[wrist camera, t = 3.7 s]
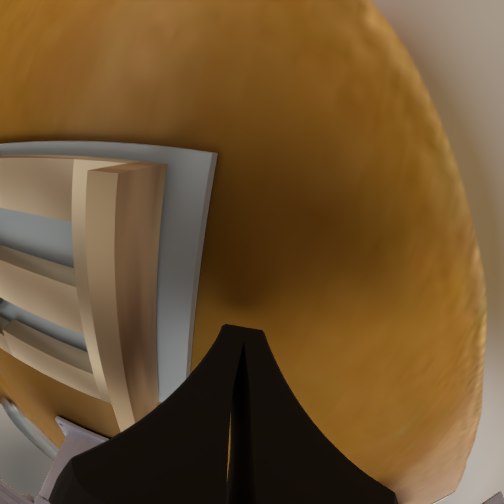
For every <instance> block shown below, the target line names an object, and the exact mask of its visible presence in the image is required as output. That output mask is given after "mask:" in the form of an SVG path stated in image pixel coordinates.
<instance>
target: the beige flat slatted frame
mask: <svg viewBox="0 0 504 504" xmlns="http://www.w3.org/2000/svg"><path fill="white" fill-rule="evenodd" d="M167 165H168V164H166V163H157V162H148V161H139V160H129V159H118V158H105V157H90V156H71V155H0V208H5V209H10V210H15V211H19V212H24V213H29V214H34V215H39V216H44V217H49V218H54V219H60V220H65V221H70V222H72V245H73V260H74V268H72V267H68V266H65V265H62V264H58V263H55V262H52V261H48V260H45V259H42V258H39V257H36V256H33V255H30V254H26V253H23V252H20V251H17V250H14V249H12V248H9V247H6V246H3V245H0V297H1V298H2V299H4V300H6V301H8V302H10V303H12V304H14V305H16V306H18V307H20V308H22V309H24V310H26V311H28V312H30V313H33V314H35V315H37V316H39V317H41V318H44V319H46V320H48V321H50V322H53V323H55V324H58V325H60V326H62V327H65V328H67V329H70V330H72V331H75V332H78V333H80V334H83V335H84V337H85V342H86V346H87V351H88V352H86V351H83V350H81V349H78V348H76V347H73V346H71V345H68V344H66V343H63V342H61V341H59V340H57V339H54V338H52V337H50V336H48V335H46V334H43V333H41V332H39V331H37V330H35V329H33V328H31V327H29V326H27V325H25V324H23V323H21V322H19V321H17V320H16V319H13V320H11V321H10V322H9V321H7V320H6V319H4V318H2V317H0V348H1V349H3V350H5V351H6V352H8V353H9V354H11V355H12V356H14V357H16V358H17V359H19V360H20V361H22V362H24V363H25V364H27V365H29V366H31V367H32V368H34V369H36V370H38V371H40V372H42V373H43V374H45V375H47V376H49V377H51V378H53V379H55V380H57V381H59V382H61V383H63V384H65V385H67V386H70V387H72V388H74V389H76V390H78V391H81V392H83V393H85V394H88V395H90V396H93V397H95V398H98V399H100V400H103V401H105V402H108V403H111V404H112V407H113V410H114V413H115V416H116V419H117V422H118V425H119V428H120V431H121V432H122V431H124V430H125V429H127V428H129V427H130V426H132V425H133V424H135V423H136V422H138V421H139V420H141V419H142V418H143V417H145V416H146V415H147V414H149V413H150V412H151V411H152V410H154V409H155V408H156V407H157V404H158V401H159V390H158V373H157V346H156V297H157V269H158V251H159V237H160V225H161V214H162V204H163V195H164V187H165V179H166V172H167Z"/></svg>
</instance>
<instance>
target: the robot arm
mask: <svg viewBox="0 0 504 504" xmlns="http://www.w3.org/2000/svg"><path fill="white" fill-rule="evenodd" d="M230 414H231V447H230V462H229V470H228V479H227V463H228V443H229V428H230ZM55 420H56V422H57V423H58V425H59V426H60V428H61V430H62V431H63V433H64V434H65V436H66V438H65V440H64V442H63V444H62V445H61V447H60V449H59V451H58V454H57V456H56V458H55V460H54V462H53V464H52V466H51V468H50V470H49V472H48V474H47V477H46V479H45V481H44V483H43V486H42V488H41V490H40V493H39V496H41V497H42V498H44V499H45V500H47V501H48V502H47V501H45V500H44V499H42V498H41V497H39V496H36V499H35V501H33V499H34V497H33V496H31V495H30V494H27V495H21V494H20V493H18V492H17V491H16V490H14V489H13V488H12V487H10V486H9V485H8V484H6V483H5V482H4V481H3V480H2V479H0V504H398V501H397V498H396V495H395V492H393V491H391V490H390V489H388V488H387V487H385V486H383V485H382V484H380V483H379V482H377V481H376V480H374V479H373V478H371V477H370V476H368V475H367V474H366V473H364V472H363V471H362V470H360V469H359V468H358V467H357V466H356V465H354V464H353V463H352V462H351V461H350V460H348V459H347V458H346V457H345V456H344V455H343V454H342V453H341V452H340V451H339V450H338V449H337V448H336V447H335V446H334V445H333V444H332V443H331V442H330V441H329V440H328V439H327V438H326V437H325V436H324V434H323V433H322V432H321V431H320V430H319V429H318V427H317V426H316V425H315V424H314V423H313V421H312V420H311V419H310V417H309V416H308V415H307V413H306V412H305V411H304V409H303V408H302V406H301V405H300V403H299V402H298V400H297V399H296V397H295V396H294V394H293V392H292V391H291V389H290V387H289V386H288V384H287V382H286V380H285V379H284V377H283V375H282V373H281V371H280V369H279V367H278V365H277V363H276V361H275V359H274V356H273V354H272V352H271V349H270V347H269V344H268V342H267V339H266V336H265V333H264V332H263V331H262V330H258V329H252V328H246V327H240V326H234V325H229V324H225V325H223V326H222V328H221V331H220V333H219V335H218V337H217V339H216V340H215V342H214V344H213V345H212V347H211V348H210V350H209V351H208V353H207V354H206V355H205V357H204V358H203V359H202V361H201V362H200V363H199V365H198V366H197V367H196V368H195V369H194V371H193V372H192V373H191V374H190V375H189V376H188V378H187V379H186V380H185V381H184V382H183V383H182V384H181V385H180V386H179V387H178V388H177V389H176V390H175V391H174V392H173V393H172V394H171V395H170V396H169V397H168V398H167V399H166V400H164V401H163V402H162V403H161V404H160V405H158V406H157V407H156V408H155V409H154V410H152V411H151V412H150V413H149V414H147V415H146V416H145V417H143V418H142V419H141V420H139V421H138V422H136V423H135V424H133V425H132V426H130V427H129V428H127V429H125V430H124V431H122V432H121V433H119V434H117V435H116V436H114V437H113V438H111V439H108V438H105V437H103V436H100V435H98V434H95V433H93V432H91V431H88V430H86V429H84V428H82V427H80V426H77V425H75V424H73V423H71V422H69V421H67V420H65V419H63V418H61V417H59V416H57V417H56V418H55ZM49 502H50V503H49ZM482 504H504V498H503V495H502V493H501V492H498V493H497V494H495V495H494V496H492V497H491V498H489V499H488V500H486V501H485V502H483V503H482Z"/></svg>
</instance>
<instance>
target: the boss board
mask: <svg viewBox="0 0 504 504" xmlns="http://www.w3.org/2000/svg"><path fill="white" fill-rule="evenodd" d="M0 155H71V156H90V157H105V158H118V159H129V160H139V161H148V162H157V163H166V164H168V165H167V172H166V179H165V187H164V195H163V204H162V214H161V225H160V237H159V251H158V269H157V297H156V346H157V373H158V390H159V401H158V402H163V401H164V400H166V399H167V398H168V397H169V396H170V395H171V394H172V393H173V392H174V391H175V390H176V389H177V388H178V387H179V386H180V385H181V384H182V383H183V382H184V381H185V380H186V379H187V378H188V376H189V375H190V368H191V355H192V343H193V332H194V321H195V311H196V302H197V293H198V284H199V276H200V268H201V260H202V252H203V245H204V237H205V230H206V223H207V217H208V210H209V203H210V197H211V191H212V185H213V179H214V173H215V167H216V162H217V156H218V153H215V152H208V151H201V150H194V149H186V148H178V147H169V146H159V145H149V144H137V143H122V142H103V141H31V142H13V143H1V144H0ZM0 245H3V246H6V247H9V248H12V249H14V250H17V251H20V252H23V253H26V254H30V255H33V256H36V257H39V258H42V259H45V260H48V261H52V262H55V263H58V264H62V265H65V266H68V267H72V268H74V260H73V245H72V222H70V221H65V220H60V219H54V218H49V217H44V216H39V215H34V214H29V213H24V212H19V211H15V210H10V209H5V208H0ZM0 317H2V318H4V319H6V320H7V321H9V322H10V321H11V320H13V319H16V320H17V321H19V322H21V323H23V324H25V325H27V326H29V327H31V328H33V329H35V330H37V331H39V332H41V333H43V334H46V335H48V336H50V337H52V338H54V339H57V340H59V341H61V342H63V343H66V344H68V345H71V346H73V347H76V348H78V349H81V350H83V351H86V352H88V351H87V346H86V342H85V337H84V335H83V334H80V333H78V332H75V331H72V330H70V329H67V328H65V327H62V326H60V325H58V324H55V323H53V322H50V321H48V320H46V319H44V318H41V317H39V316H37V315H35V314H33V313H30V312H28V311H26V310H24V309H22V308H20V307H18V306H16V305H14V304H12V303H10V302H8V301H6V300H4V299H2V298H1V297H0Z"/></svg>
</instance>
